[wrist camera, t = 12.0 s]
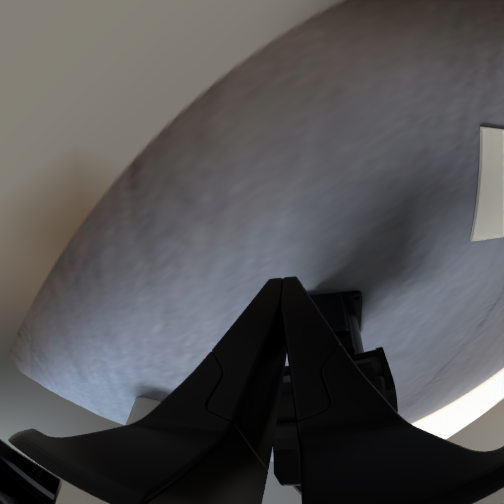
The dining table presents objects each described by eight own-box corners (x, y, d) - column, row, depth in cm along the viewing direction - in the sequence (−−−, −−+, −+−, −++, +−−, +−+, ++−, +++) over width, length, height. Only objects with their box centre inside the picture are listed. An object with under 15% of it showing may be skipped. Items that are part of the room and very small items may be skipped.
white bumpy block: (177, 430, 48) (168, 465, 41) (125, 400, 43) (110, 437, 36) (210, 425, 43) (201, 466, 36) (152, 393, 39) (136, 437, 32)
